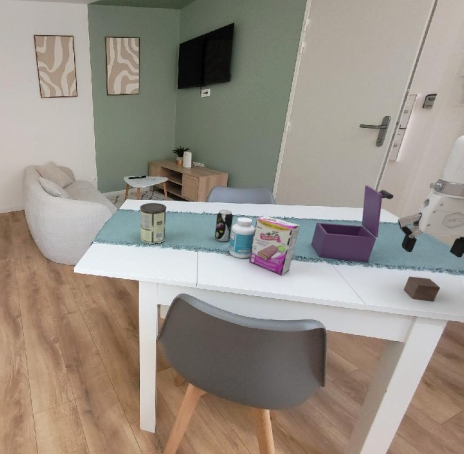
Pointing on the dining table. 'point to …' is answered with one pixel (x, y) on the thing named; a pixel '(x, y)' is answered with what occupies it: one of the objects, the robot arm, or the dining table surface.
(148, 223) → the coffee can
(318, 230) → the box
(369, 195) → the lid
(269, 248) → the candy bar box
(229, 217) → the beverage can
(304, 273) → the dining table surface
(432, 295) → the block
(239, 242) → the pill bottle
